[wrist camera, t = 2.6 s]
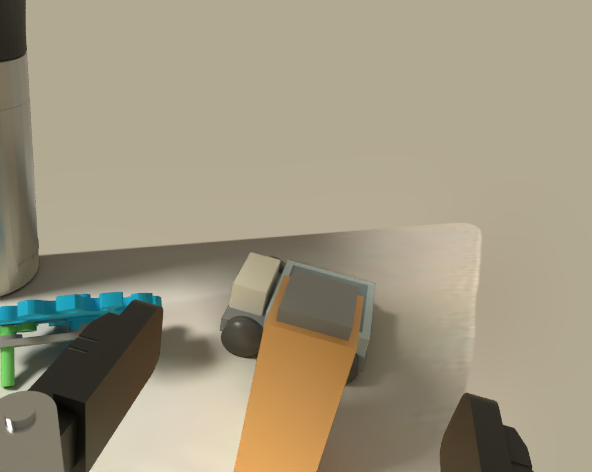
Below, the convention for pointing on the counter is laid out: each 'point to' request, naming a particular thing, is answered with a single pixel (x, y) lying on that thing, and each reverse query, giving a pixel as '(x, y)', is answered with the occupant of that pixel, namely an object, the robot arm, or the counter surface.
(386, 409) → the counter surface
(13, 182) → the robot arm
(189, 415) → the counter surface
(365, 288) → the truck
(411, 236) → the counter surface
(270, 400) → the orange tower grey cap
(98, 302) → the gear
